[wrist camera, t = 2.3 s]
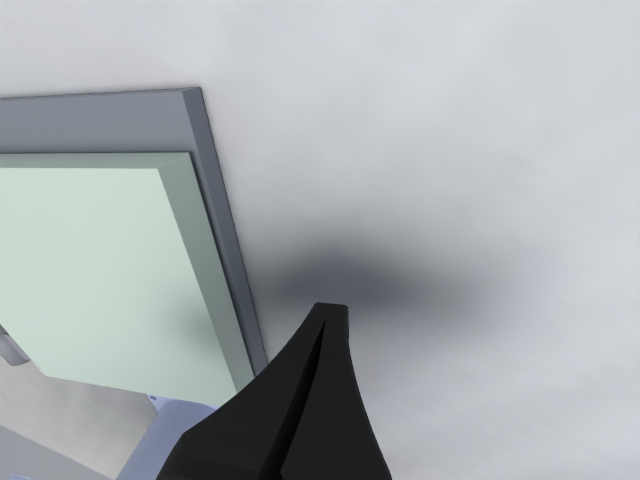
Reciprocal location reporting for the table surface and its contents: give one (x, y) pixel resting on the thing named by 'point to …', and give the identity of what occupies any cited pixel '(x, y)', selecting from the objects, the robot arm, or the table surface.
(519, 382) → the table surface
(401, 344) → the table surface
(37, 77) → the table surface
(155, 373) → the door
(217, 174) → the jig board
